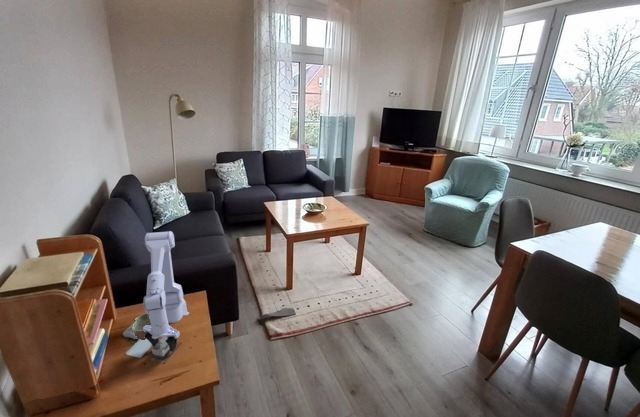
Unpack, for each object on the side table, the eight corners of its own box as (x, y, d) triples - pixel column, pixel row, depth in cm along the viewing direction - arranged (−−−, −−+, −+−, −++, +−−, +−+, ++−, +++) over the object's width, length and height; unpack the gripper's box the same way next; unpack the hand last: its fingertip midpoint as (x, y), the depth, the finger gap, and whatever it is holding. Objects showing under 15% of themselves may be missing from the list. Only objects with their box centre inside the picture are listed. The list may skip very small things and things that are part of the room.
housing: (167, 342, 125) (165, 333, 123) (177, 344, 124) (175, 335, 123) (153, 357, 118) (151, 348, 116) (163, 360, 117) (161, 350, 115)
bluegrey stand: (126, 357, 120) (125, 353, 119) (144, 338, 129) (144, 334, 128) (141, 360, 118) (140, 357, 118) (159, 341, 128) (158, 337, 127)
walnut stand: (149, 362, 118) (148, 358, 117) (166, 342, 127) (166, 339, 126) (165, 366, 116) (164, 362, 116) (181, 346, 126) (181, 342, 125)
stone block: (122, 343, 129) (141, 343, 126) (118, 333, 127) (137, 334, 125) (143, 324, 140) (161, 324, 137) (139, 315, 138) (158, 315, 136)
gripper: (134, 324, 113) (141, 352, 118) (168, 331, 110) (174, 359, 115) (148, 311, 119) (154, 338, 125) (181, 318, 117) (185, 345, 122)
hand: (164, 347), depth 120 cm, fingers open, 7 cm apart
